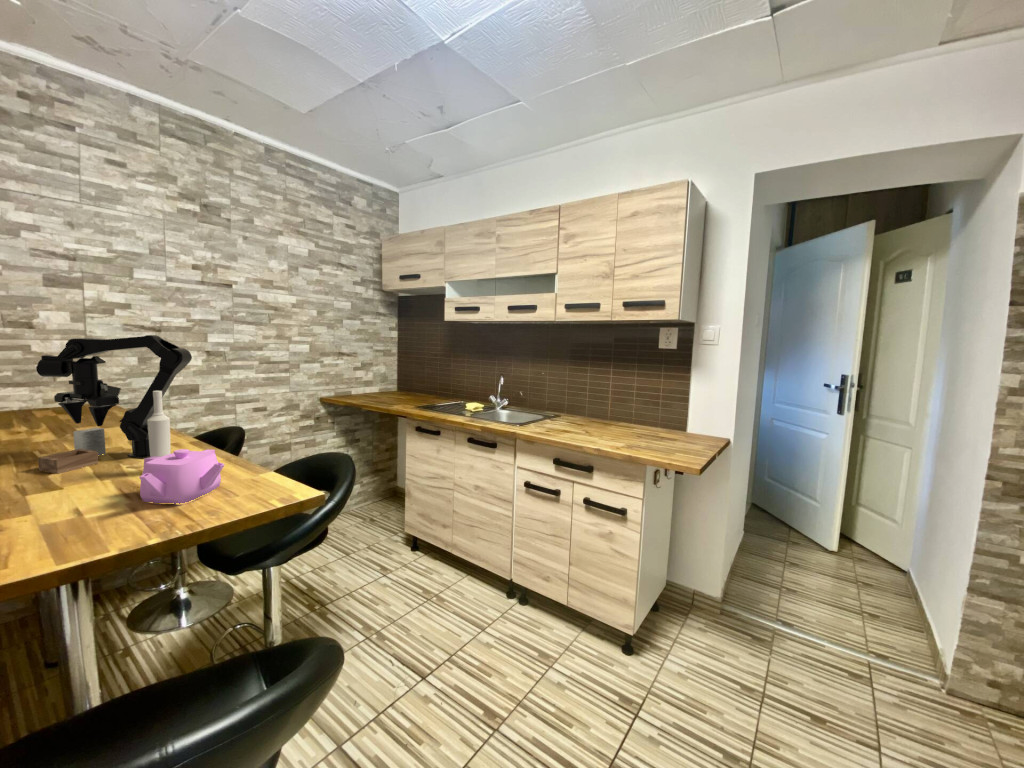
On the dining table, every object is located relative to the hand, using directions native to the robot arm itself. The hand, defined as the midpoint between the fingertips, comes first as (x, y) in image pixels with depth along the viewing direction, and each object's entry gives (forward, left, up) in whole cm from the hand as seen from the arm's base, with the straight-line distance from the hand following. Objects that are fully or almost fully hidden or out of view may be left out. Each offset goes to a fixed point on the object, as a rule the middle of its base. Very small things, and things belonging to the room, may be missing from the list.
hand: (89, 424), depth 131 cm
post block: (-6, +9, -11) cm, 15 cm away
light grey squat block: (0, 0, -11) cm, 11 cm away
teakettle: (-55, +14, -11) cm, 58 cm away
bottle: (-33, +3, -11) cm, 35 cm away
